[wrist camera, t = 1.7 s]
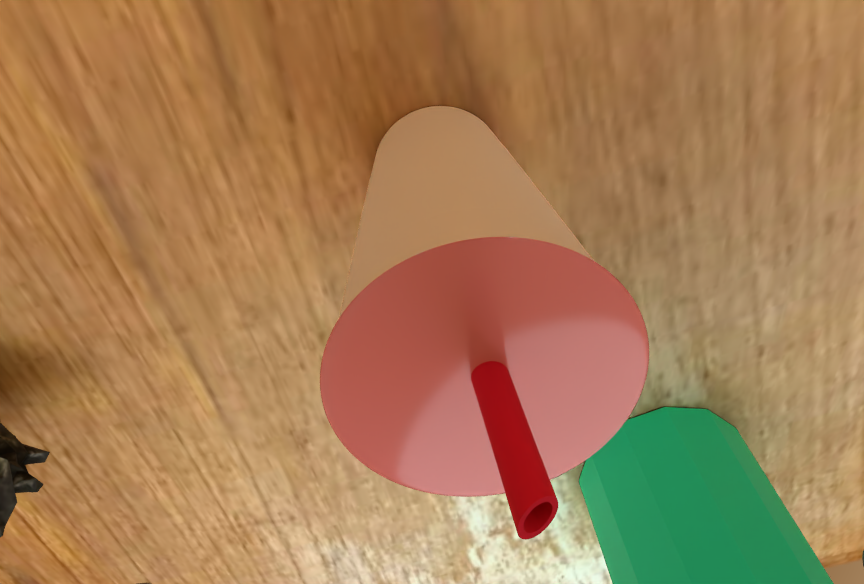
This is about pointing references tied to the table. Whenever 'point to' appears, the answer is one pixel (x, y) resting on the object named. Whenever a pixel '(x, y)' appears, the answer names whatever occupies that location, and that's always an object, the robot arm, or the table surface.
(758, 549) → the candle
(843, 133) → the table surface
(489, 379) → the cup
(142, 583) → the robot arm
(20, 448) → the mineral specimen
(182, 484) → the table surface
